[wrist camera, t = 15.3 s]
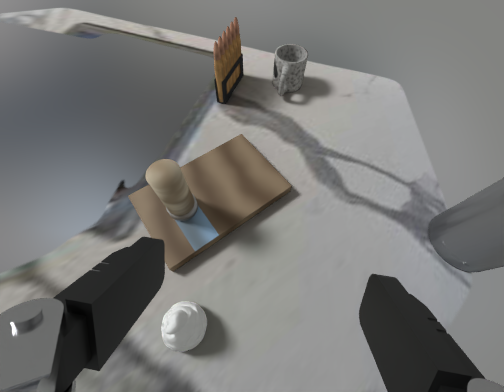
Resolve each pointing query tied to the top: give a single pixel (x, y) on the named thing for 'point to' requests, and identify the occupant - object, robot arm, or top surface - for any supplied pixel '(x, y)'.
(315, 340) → the top surface
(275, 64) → the mug
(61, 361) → the robot arm
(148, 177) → the wooden post on base
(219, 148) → the cutting board
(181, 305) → the white meringue
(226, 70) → the ammunition clip
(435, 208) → the top surface
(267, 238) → the top surface
